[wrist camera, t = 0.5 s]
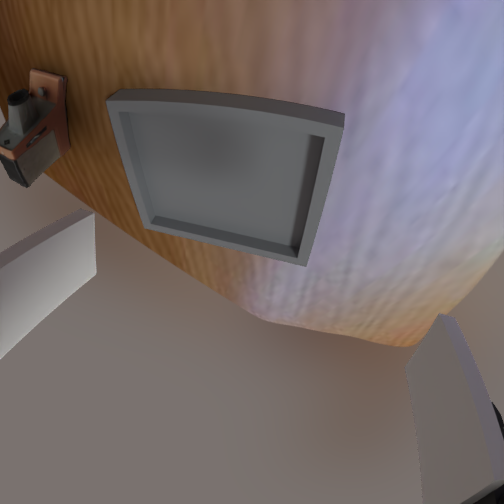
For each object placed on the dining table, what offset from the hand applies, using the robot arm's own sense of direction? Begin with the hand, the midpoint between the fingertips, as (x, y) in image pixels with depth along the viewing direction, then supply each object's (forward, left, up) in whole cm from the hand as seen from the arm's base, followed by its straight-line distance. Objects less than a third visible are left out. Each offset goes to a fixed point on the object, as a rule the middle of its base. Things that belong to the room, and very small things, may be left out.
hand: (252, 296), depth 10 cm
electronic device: (+2, -24, -14) cm, 28 cm away
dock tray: (+7, -6, -14) cm, 17 cm away
